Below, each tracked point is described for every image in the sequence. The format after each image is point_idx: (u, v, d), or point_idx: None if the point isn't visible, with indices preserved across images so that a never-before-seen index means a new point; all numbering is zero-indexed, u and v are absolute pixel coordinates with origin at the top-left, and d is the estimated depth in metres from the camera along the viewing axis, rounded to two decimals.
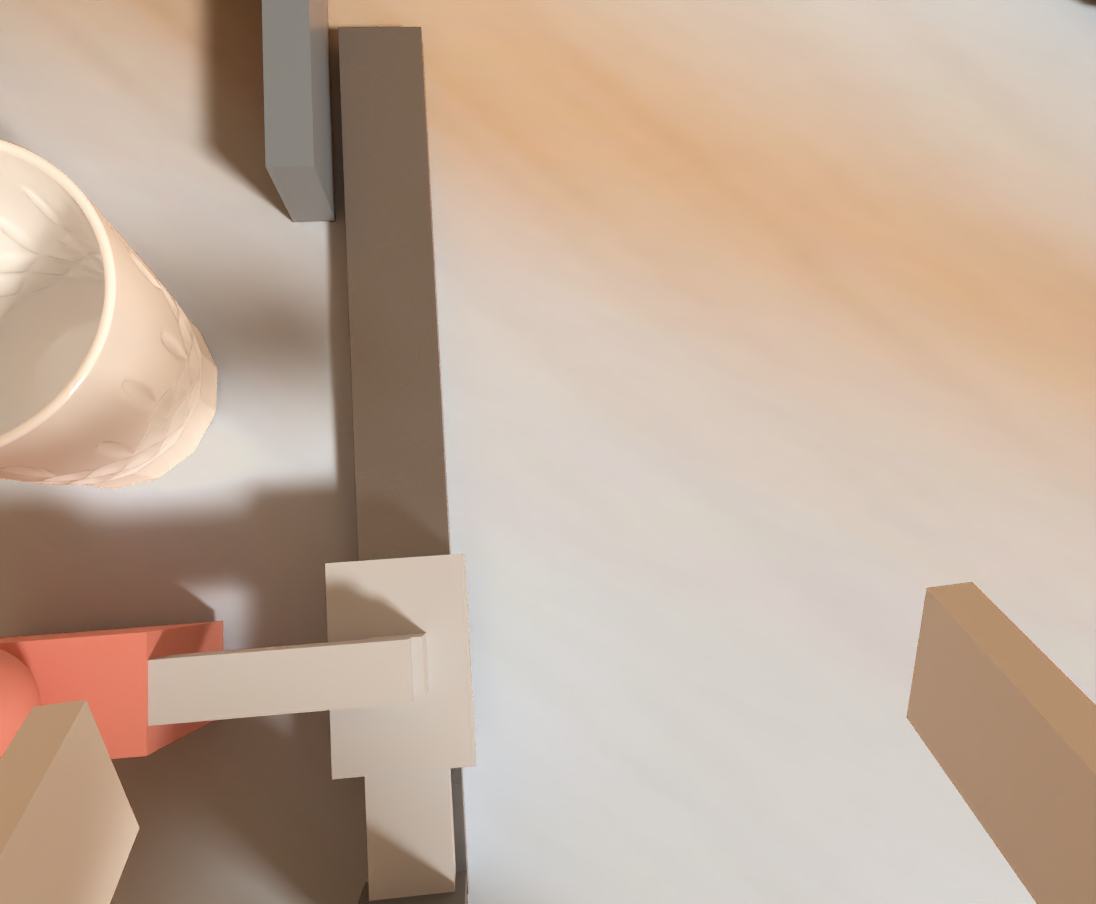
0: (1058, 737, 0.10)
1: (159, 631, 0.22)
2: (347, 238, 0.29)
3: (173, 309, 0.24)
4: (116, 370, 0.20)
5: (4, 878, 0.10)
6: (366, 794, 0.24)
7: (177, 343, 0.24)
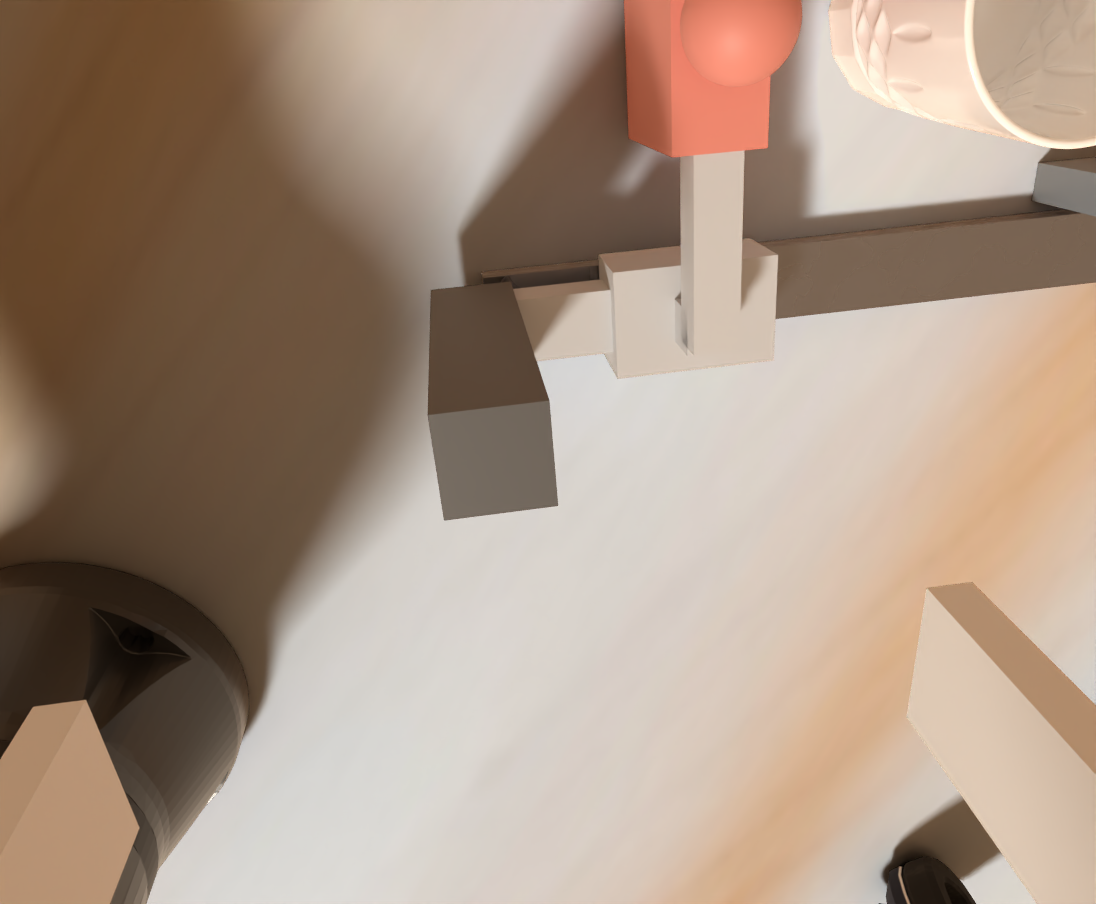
0: (1058, 737, 0.10)
1: None
2: (1018, 221, 0.34)
3: None
4: (999, 133, 0.24)
5: (4, 879, 0.10)
6: (593, 292, 0.30)
7: None
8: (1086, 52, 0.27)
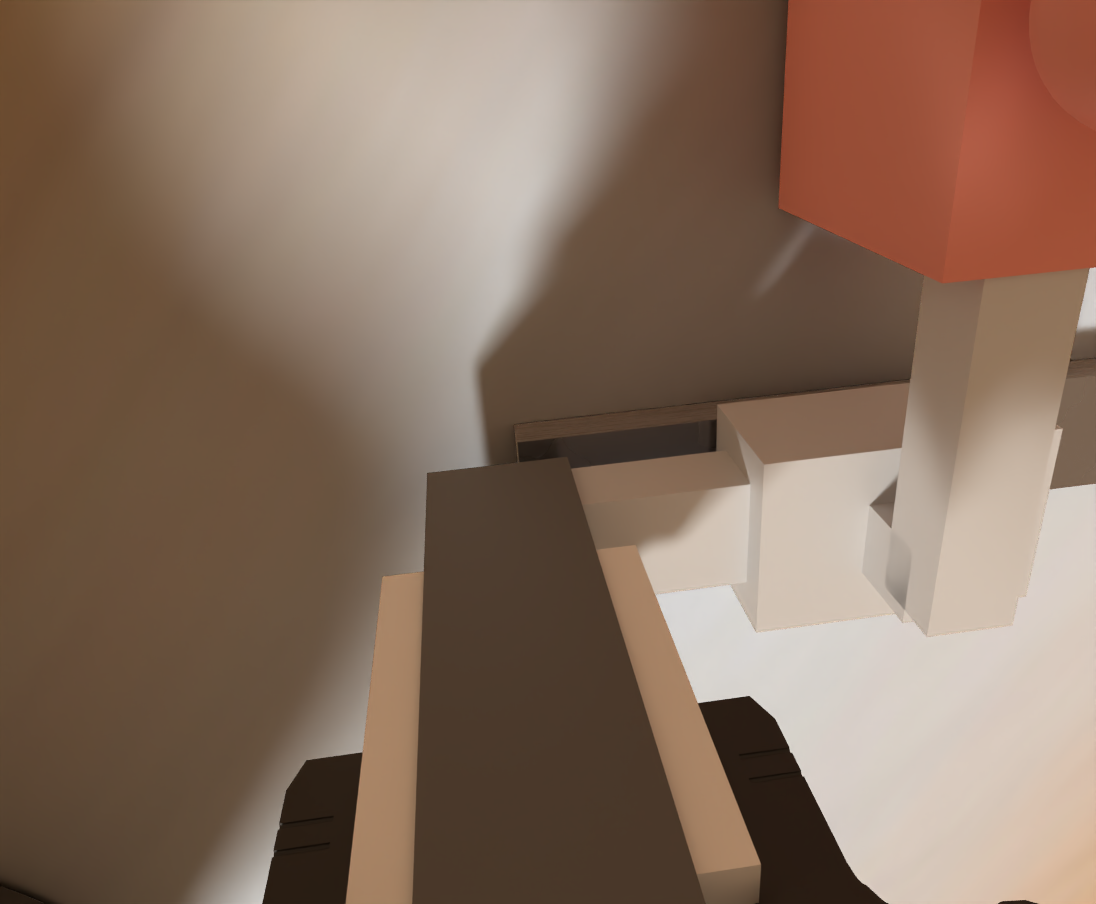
0: None
1: None
2: None
3: None
4: None
5: None
6: (719, 489, 0.17)
7: None
8: None
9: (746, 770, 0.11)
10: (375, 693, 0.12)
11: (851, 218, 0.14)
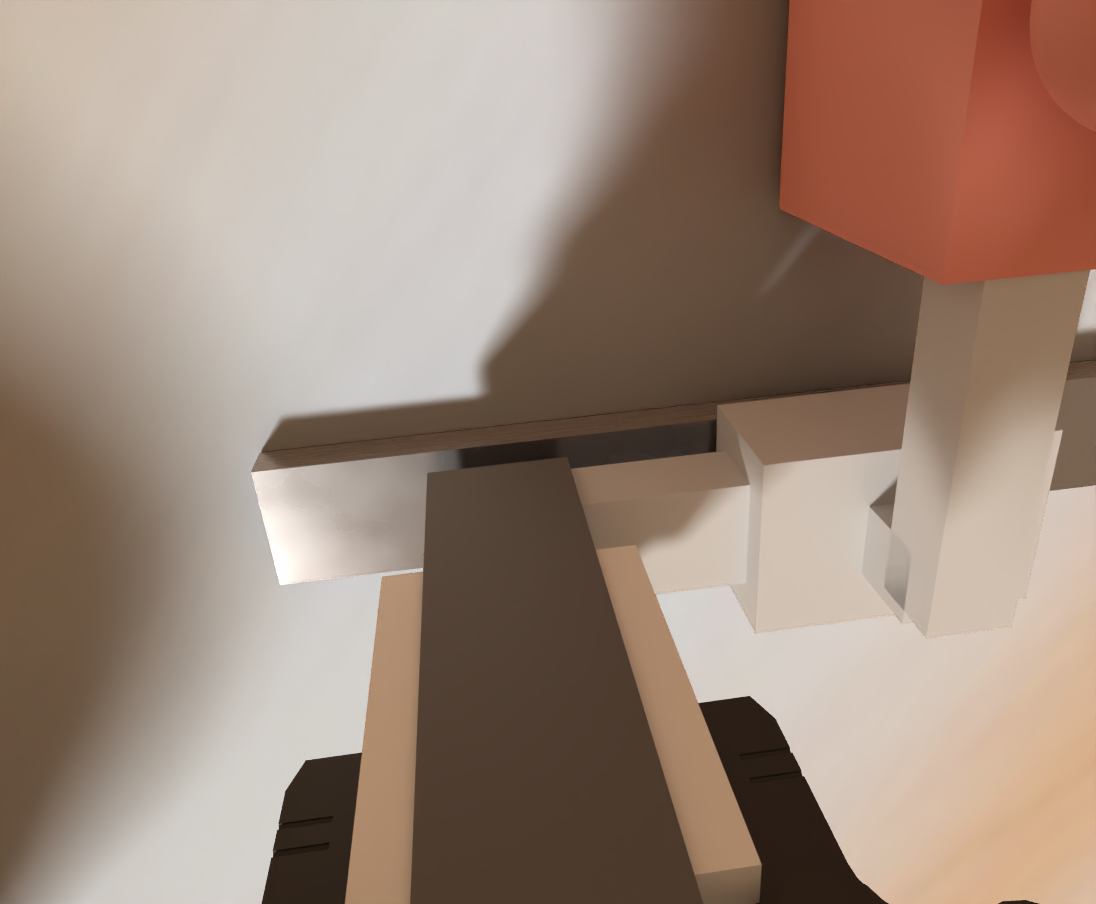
0: None
1: None
2: None
3: None
4: None
5: None
6: (719, 490, 0.17)
7: None
8: None
9: (746, 770, 0.11)
10: (374, 693, 0.12)
11: (852, 219, 0.14)
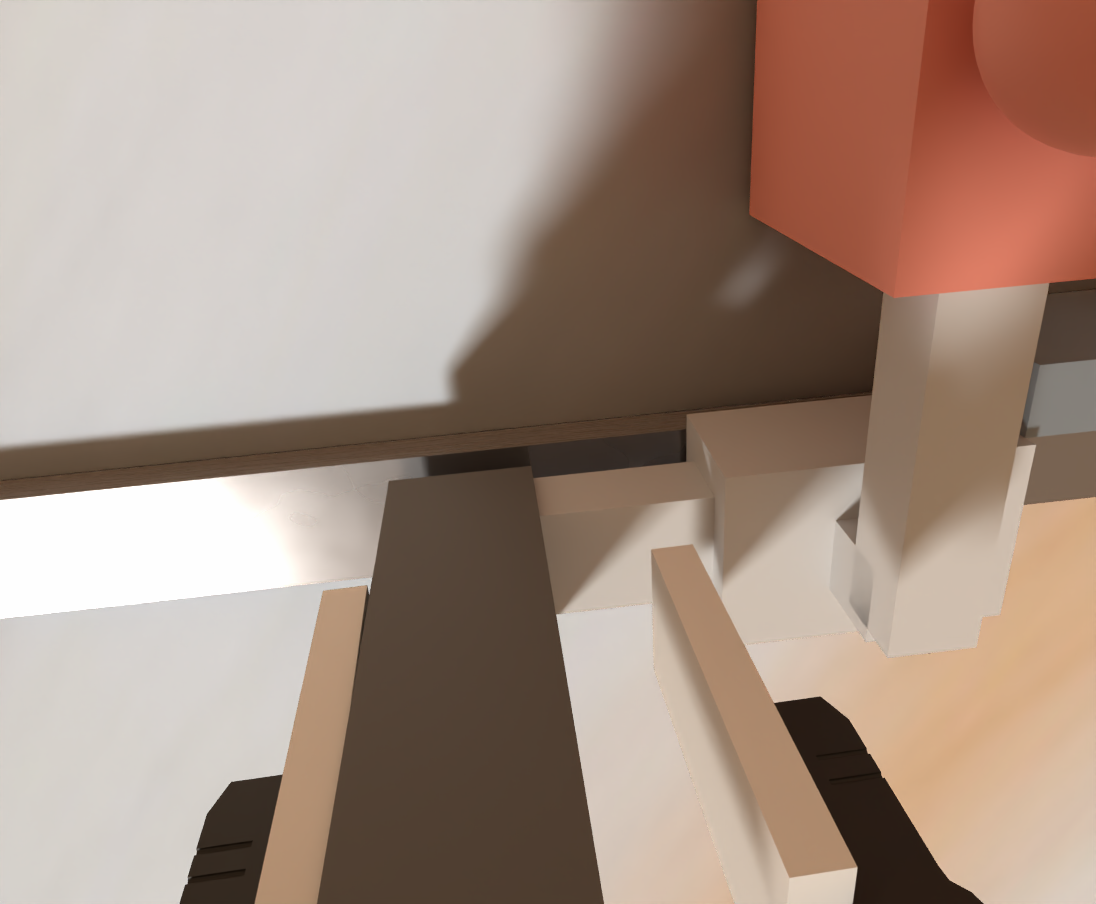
0: (700, 670, 0.12)
1: None
2: None
3: None
4: None
5: None
6: (682, 502, 0.16)
7: None
8: None
9: (825, 772, 0.11)
10: (302, 713, 0.12)
11: (813, 227, 0.14)
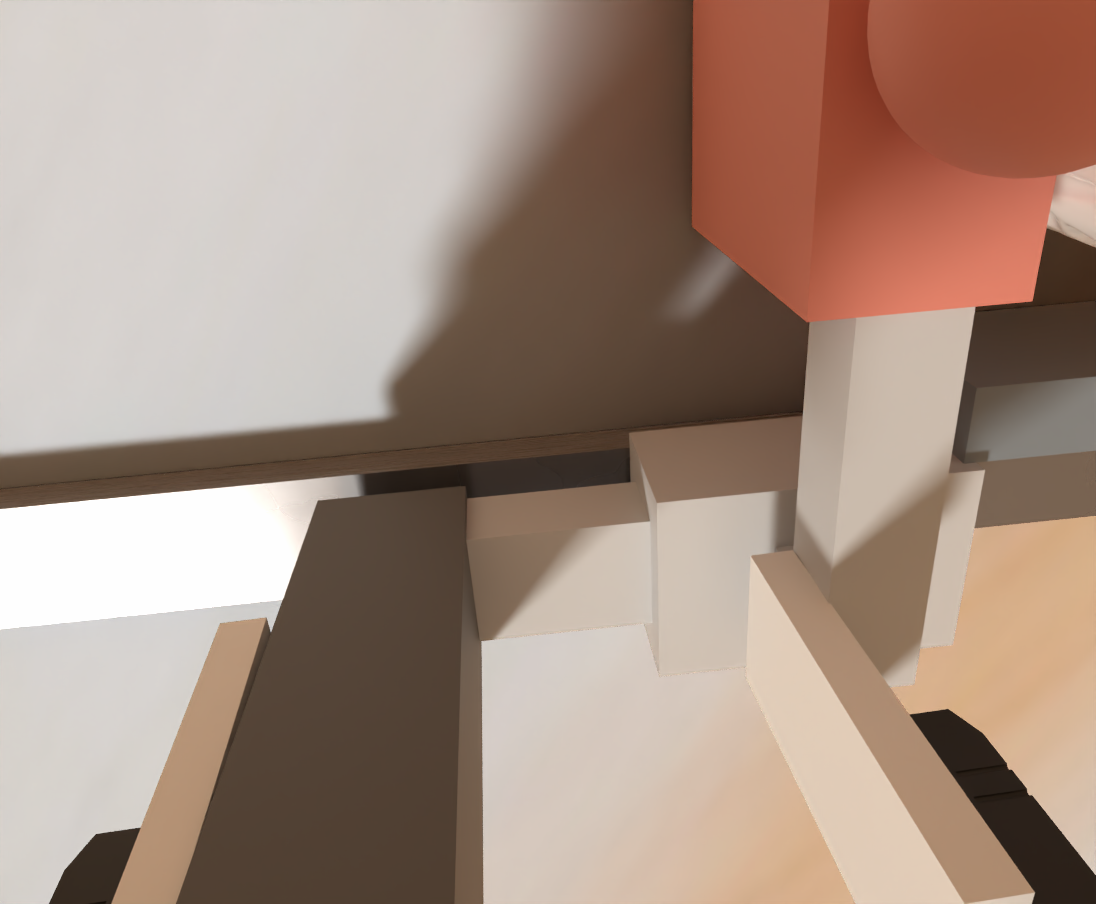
0: (826, 681, 0.11)
1: None
2: None
3: None
4: None
5: None
6: (616, 526, 0.16)
7: None
8: None
9: (968, 789, 0.10)
10: (172, 760, 0.11)
11: (741, 243, 0.13)
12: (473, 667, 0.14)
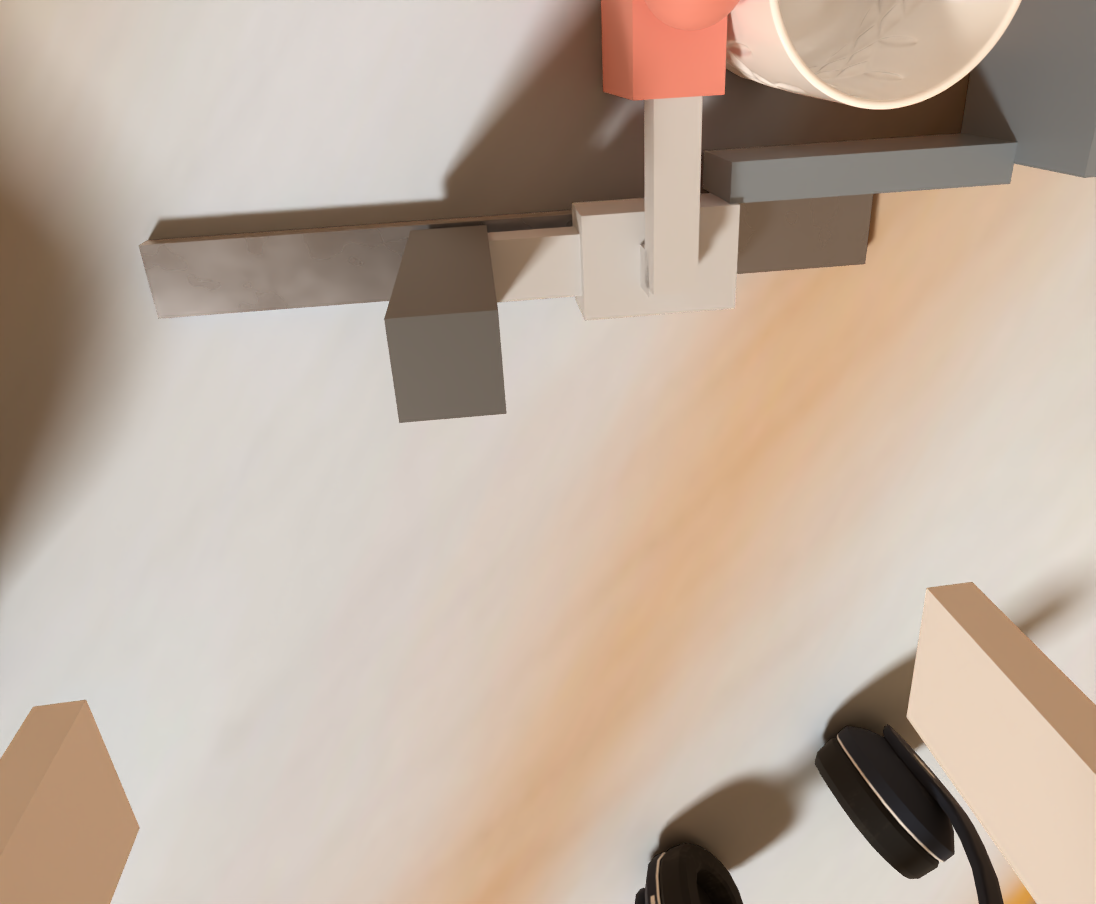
0: (1057, 737, 0.10)
1: None
2: None
3: None
4: (816, 94, 0.25)
5: (4, 878, 0.10)
6: (563, 236, 0.32)
7: None
8: (913, 23, 0.28)
9: None
10: None
11: (617, 84, 0.29)
12: None
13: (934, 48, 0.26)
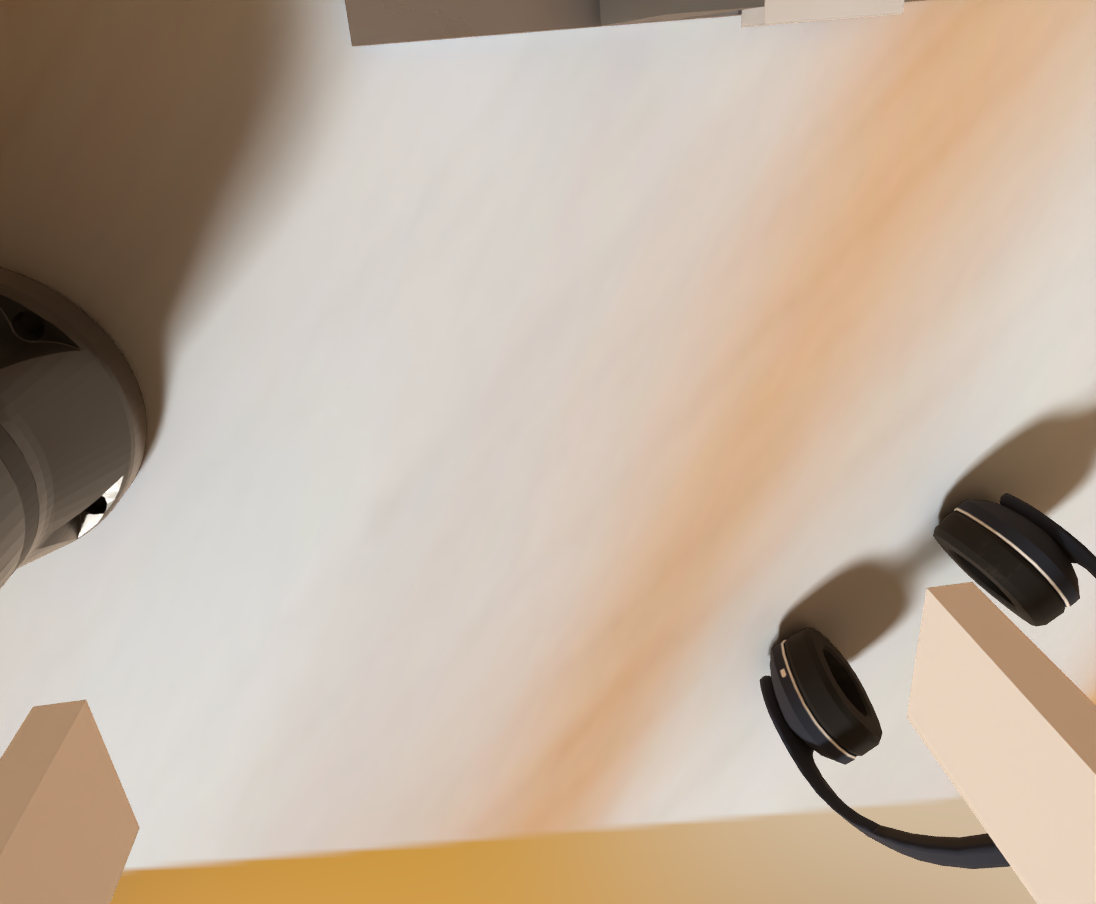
0: (1057, 737, 0.10)
1: None
2: None
3: None
4: None
5: (4, 878, 0.10)
6: None
7: None
8: None
9: None
10: None
11: None
12: None
13: None
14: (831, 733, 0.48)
